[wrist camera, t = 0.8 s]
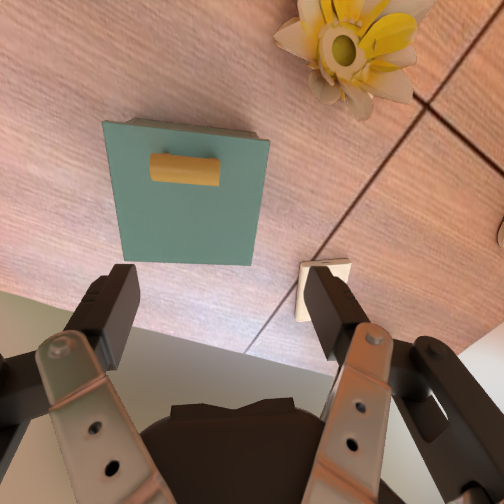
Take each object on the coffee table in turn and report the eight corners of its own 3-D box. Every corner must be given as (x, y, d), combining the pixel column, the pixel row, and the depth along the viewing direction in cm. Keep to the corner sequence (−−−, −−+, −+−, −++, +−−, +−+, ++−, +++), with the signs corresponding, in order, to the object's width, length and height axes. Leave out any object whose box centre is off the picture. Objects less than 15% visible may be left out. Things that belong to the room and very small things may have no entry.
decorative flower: (454, 18, 26) (523, 22, 19) (365, 122, 33) (390, 155, 26) (338, -108, 21) (369, -167, 14) (263, 44, 28) (259, 56, 21)
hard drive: (293, 315, 49) (299, 261, 43) (336, 311, 50) (348, 258, 43) (296, 322, 48) (302, 267, 41) (339, 318, 49) (352, 263, 42)
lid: (104, 120, 21) (76, 130, 17) (268, 139, 24) (280, 152, 19) (126, 257, 28) (110, 289, 24) (250, 262, 31) (256, 292, 26)
